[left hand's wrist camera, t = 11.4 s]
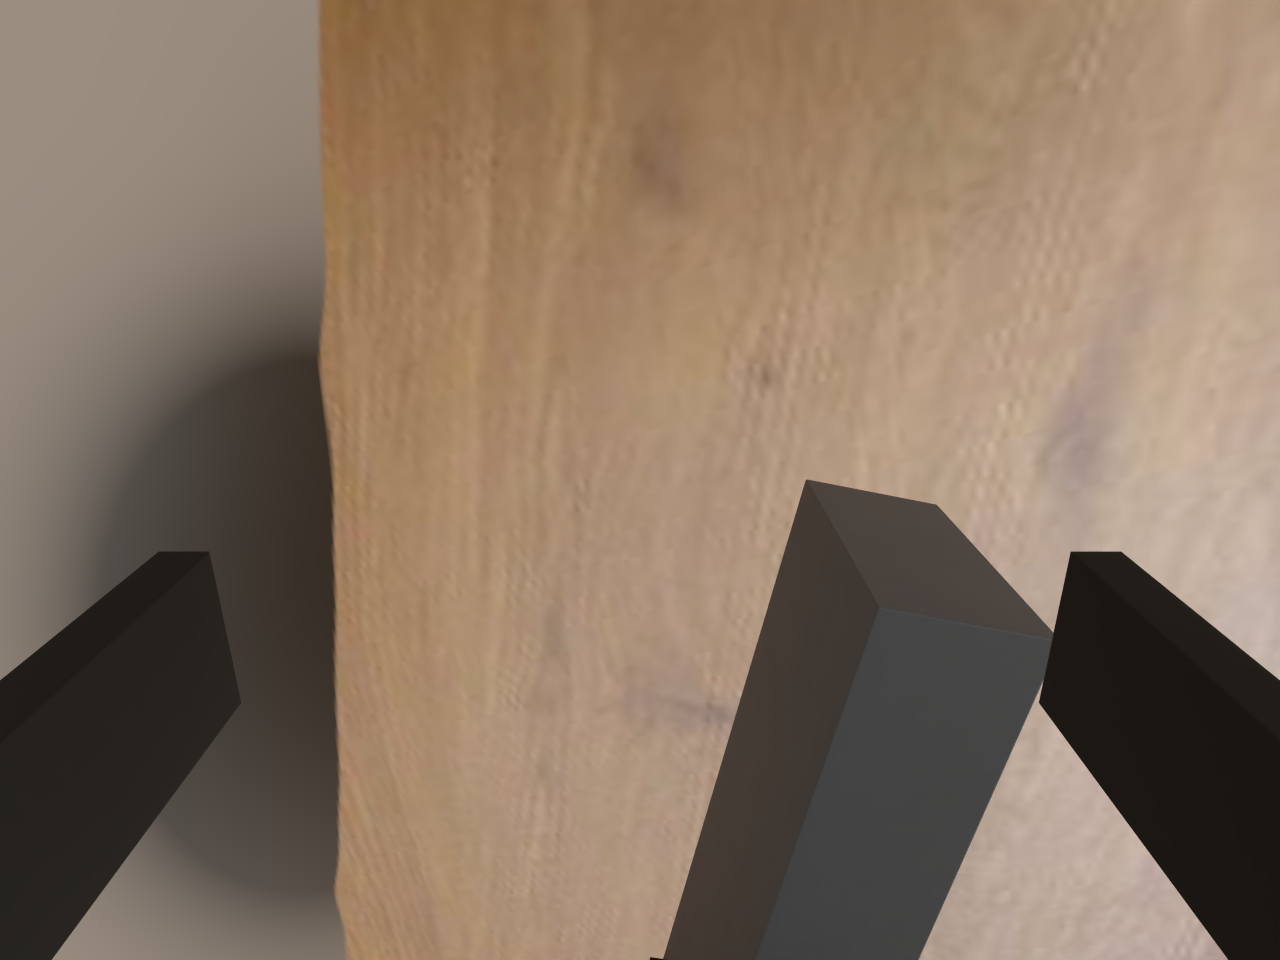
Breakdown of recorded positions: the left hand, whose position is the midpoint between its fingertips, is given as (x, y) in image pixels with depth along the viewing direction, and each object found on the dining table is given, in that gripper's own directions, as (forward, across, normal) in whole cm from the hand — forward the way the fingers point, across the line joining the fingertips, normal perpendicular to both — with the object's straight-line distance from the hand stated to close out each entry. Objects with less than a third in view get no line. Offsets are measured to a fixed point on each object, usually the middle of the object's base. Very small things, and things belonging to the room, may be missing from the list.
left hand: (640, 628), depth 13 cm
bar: (+14, +5, -16) cm, 22 cm away
